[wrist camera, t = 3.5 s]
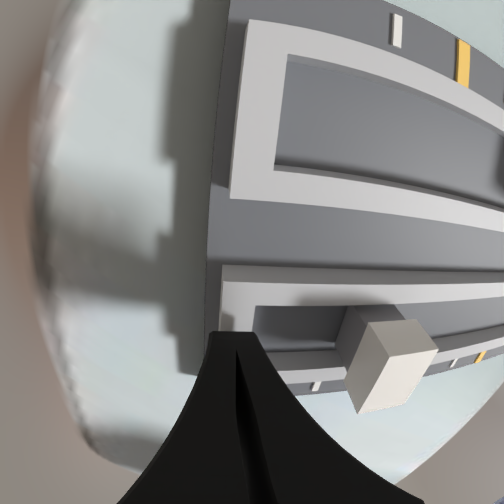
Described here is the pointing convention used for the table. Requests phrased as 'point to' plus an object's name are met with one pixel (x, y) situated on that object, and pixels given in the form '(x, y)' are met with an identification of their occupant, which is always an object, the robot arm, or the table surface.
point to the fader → (382, 355)
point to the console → (354, 184)
